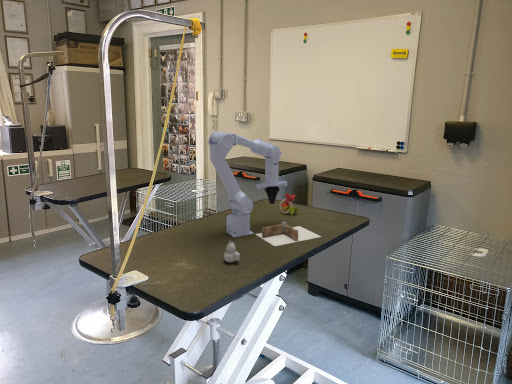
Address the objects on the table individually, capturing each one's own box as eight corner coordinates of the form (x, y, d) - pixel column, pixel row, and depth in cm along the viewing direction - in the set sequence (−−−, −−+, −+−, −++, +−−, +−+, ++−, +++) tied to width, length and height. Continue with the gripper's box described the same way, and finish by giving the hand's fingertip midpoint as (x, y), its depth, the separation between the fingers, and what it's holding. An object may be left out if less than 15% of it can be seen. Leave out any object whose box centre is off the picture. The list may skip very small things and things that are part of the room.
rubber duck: (230, 257, 145) (229, 236, 143) (244, 261, 141) (244, 239, 139) (220, 262, 140) (219, 240, 139) (234, 266, 137) (234, 244, 135)
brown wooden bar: (284, 233, 167) (284, 224, 166) (287, 233, 167) (287, 224, 167) (295, 240, 159) (295, 231, 158) (298, 239, 159) (299, 230, 159)
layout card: (274, 247, 154) (274, 245, 154) (255, 235, 168) (255, 233, 168) (321, 237, 164) (321, 236, 164) (299, 226, 178) (299, 225, 178)
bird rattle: (281, 219, 196) (296, 214, 191) (272, 198, 195) (288, 192, 191) (286, 216, 201) (302, 211, 196) (278, 195, 201) (293, 190, 196)
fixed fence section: (263, 238, 163) (263, 226, 162) (261, 236, 164) (261, 225, 163) (287, 233, 168) (287, 222, 167) (285, 232, 170) (285, 221, 169)
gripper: (261, 176, 167) (261, 207, 170) (291, 172, 174) (290, 203, 177) (253, 173, 173) (254, 204, 176) (282, 170, 180) (282, 199, 183)
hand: (271, 203), depth 177 cm, fingers closed
